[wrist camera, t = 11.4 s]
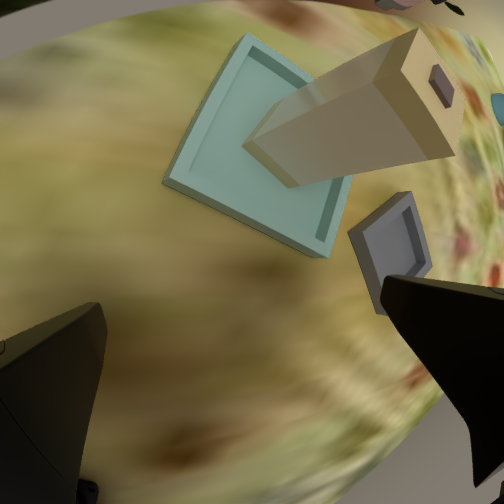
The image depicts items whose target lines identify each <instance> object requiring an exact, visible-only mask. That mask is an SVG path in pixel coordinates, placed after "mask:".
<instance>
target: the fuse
mask: <svg viewBox="0 0 504 504" xmlns="http://www.w3.org/2000/svg"><path fill="white" fill-rule="evenodd" d="M465 100H466V99H465V97H464V96H463V94H462V92H461V90H460V88H459V87H458V85H457V83H456V82H455V80H454V78H453V77H452V75H451V73H450V72H449V70H448V69H447V67H446V65H445V64H444V62H443V61H442V59H441V58H440V56H439V55H438V53H437V52H436V50H435V49H434V47H433V46H432V44H431V43H430V42H429V40H428V39H427V37H426V36H425V35H424V33H423V32H422V31H421V29H420V28H416V29H414V30H412V31H409V32H407V33H405V34H403V35H401V36H398V37H396V38H394V39H392V40H390V41H388V42H386V43H384V44H382V45H379V46H377V47H375V48H373V49H371V50H369V51H367V52H365V53H363V54H361V55H359V56H358V57H356V58H354V59H352V60H350V61H348V62H346V63H344V64H342V65H340V66H339V67H337V68H335V69H333V70H331V71H329V72H328V73H326V74H324V75H322V76H321V77H319V78H317V79H315V80H313V81H312V82H310V83H308V84H307V85H305V86H303V87H301V88H300V89H298V90H296V91H295V92H293V93H291V94H290V95H288V96H286V97H285V98H283V99H282V100H280V101H278V102H277V103H275V104H274V105H273V106H272V107H271V108H270V110H269V111H268V112H267V113H266V115H265V116H264V117H263V119H262V120H261V121H260V122H259V124H258V125H257V126H256V128H255V129H254V130H253V131H252V133H251V134H250V135H249V137H248V138H247V139H246V141H245V142H244V143H243V145H242V147H243V148H244V149H245V150H246V151H247V152H248V153H250V154H251V155H252V156H253V157H254V158H255V159H256V160H257V161H259V162H260V163H261V164H262V165H263V166H264V167H265V168H266V169H267V170H268V171H270V172H271V173H272V174H273V175H274V176H275V177H276V178H277V179H278V180H279V181H280V182H281V183H283V184H284V185H285V186H286V187H287V188H293V187H297V186H301V185H306V184H310V183H315V182H320V181H324V180H329V179H333V178H338V177H343V176H348V175H353V174H358V173H362V172H368V171H373V170H378V169H383V168H388V167H393V166H399V165H404V164H410V163H415V162H421V161H427V160H433V159H439V158H445V157H451V156H456V151H457V146H458V141H459V136H460V131H461V125H462V120H463V114H464V107H465Z"/></svg>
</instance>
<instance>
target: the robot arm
mask: <svg viewBox="0 0 504 504" xmlns="http://www.w3.org/2000/svg"><path fill="white" fill-rule="evenodd" d="M380 303H381V305H382V307H383V309H384V310H385V312H386V313H387V315H388V316H389V318H390V320H391V321H392V323H393V324H394V326H395V328H396V329H397V331H398V332H399V334H400V335H401V336H402V338H403V339H404V340H405V341H406V343H407V344H408V345H409V346H410V348H411V349H412V350H413V352H414V353H415V354H416V356H417V357H418V358H419V359H420V361H421V362H422V363H423V365H424V366H425V367H426V369H427V370H428V371H429V373H430V374H431V375H432V377H433V378H434V379H435V381H436V382H437V383H438V385H439V386H440V387H441V389H442V390H443V391H444V393H445V394H446V395H447V397H448V398H449V400H450V401H451V402H452V404H453V405H454V407H455V408H456V409H457V410H458V412H459V414H460V415H461V416H462V418H463V419H464V421H465V422H466V424H467V426H468V429H469V433H470V440H471V451H472V463H473V482H474V486H475V488H477V487H478V486H480V485H481V484H482V483H484V482H485V481H487V480H488V479H490V478H491V477H492V476H494V475H495V474H496V473H498V472H499V471H500V470H502V469H503V468H504V288H496V287H485V286H478V285H471V284H463V283H456V282H449V281H441V280H434V279H427V278H419V277H412V276H405V275H397V274H394V275H387V276H386V277H385V278H384V280H383V285H382V289H381V294H380ZM106 339H107V325H106V321H105V318H104V314H103V311H102V307H101V305H100V303H98V302H95V303H86V304H84V305H81V306H79V307H77V308H75V309H72V310H70V311H68V312H66V313H63V314H61V315H59V316H57V317H54V318H52V319H50V320H48V321H45V322H43V323H41V324H39V325H36V326H34V327H32V328H30V329H28V330H25V331H23V332H21V333H19V334H17V335H14V336H12V337H10V338H8V339H6V340H5V341H4V340H2V341H0V504H96V502H97V497H98V493H99V489H98V486H97V484H96V483H94V482H90V481H86V480H81V479H78V477H79V471H80V466H81V460H82V455H83V449H84V444H85V439H86V435H87V430H88V425H89V421H90V416H91V412H92V408H93V404H94V400H95V396H96V392H97V388H98V384H99V380H100V376H101V372H102V367H103V360H104V353H105V346H106ZM89 488H94V489H89ZM491 504H504V481H503V482H502V483H501V490H500V496H499V498H497V499H496V500H495V501H494V502H492V503H491Z"/></svg>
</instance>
